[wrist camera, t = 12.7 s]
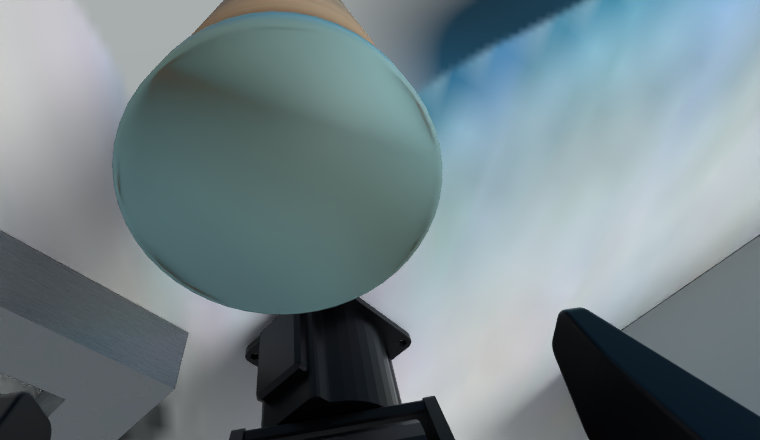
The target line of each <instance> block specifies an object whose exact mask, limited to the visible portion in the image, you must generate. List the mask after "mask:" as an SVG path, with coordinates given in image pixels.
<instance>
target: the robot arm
mask: <svg viewBox="0 0 760 440" xmlns="http://www.w3.org/2000/svg"><path fill="white" fill-rule="evenodd" d="M400 340H403V341H400ZM410 344H411V339H410V335H409V334H408V332H406V331H405V330H403V329H402V328H401V327H399V326H398V325H397V324H395V323H394V322H392V321H391V320H390V319H388V318H387V317H386V316H384V315H383V314H381V313H380V312H379V311H377V310H376V309H375V308H373V307H372V306H370V305H369V304H368V303H366V302H365V301H364V300H362V299H361V298H359V297H357V298H355V299H353V300H351V301H348V302H345V303H343V304H340V305H337V306H334V307H330V308H327V309H323V310H319V311H313V312H306V313H299V314H281V315H280V316H279V317H278V318H277V319H275V320H274V321H273V322H272V323H271V324H270V325H269V326H267V327H266V328H265V329H264V330H263V331H262V332H261V333H260V336H259V337H258V338H257V339H256V340H255V341H254V342H252V343H251V344H250V345H249V346H248V347H247V348H246V356H245V357H246V360H247V361H249V362H250V363H252V364H254V365H256V366H258V376H257V391H256V395H257V400H258V401H260V402H262V403H263V404H262V423H261V428H258V429H252V430H246V429H245V428H244V429H238V430H232V431H231V434H230V438H229V440H455V438H454V436H453V434H452V432H451V430H450V428H449V425H448V423H447V421H446V419H445V417H444V415H443V412H442V410H441V408H440V406H439V404H438V402H437V399H436V397H435V396H431V397H425V398H422V400H421V401H415V402H409V403H403V404H402V403H401V399H400V394H399V390H398V386H397V382H396V378H395V374H394V370H393V366H392V361H391V360H392V359H394V358H395V357H396V356H397V355H399V354H400V353H401V352H403V351H404V350H405V349H406V348H408V347H409V346H410ZM552 347H553V352H554V355H555V358H556V360H557V363H558V365H559V368H560V370H561V373H562V375H563V378H564V381H565V383H566V386H567V388H568V391H569V393H570V396H571V398H572V401H573V403H574V406H575V408H576V411H577V413H578V416H579V418H580V421H581V423H582V425H583V428H584V430H585V432H586V434H587V436H588V438H589V440H760V416H759V415H757V414H756V413H754V412H752V411H751V410H749V409H748V408H746V407H744V406H743V405H741V404H739V403H738V402H736V401H735V400H733V399H731V398H730V397H728V396H727V395H725V394H723V393H722V392H720V391H718V390H717V389H715V388H714V387H712V386H710V385H709V384H707V383H705V382H704V381H702V380H701V379H699V378H697V377H696V376H694V375H692V374H691V373H689V372H688V371H686V370H684V369H683V368H681V367H679V366H678V365H676V364H675V363H673V362H671V361H670V360H668V359H666V358H665V357H663V356H662V355H660V354H658V353H657V352H655V351H653V350H652V349H650V348H649V347H647V346H645V345H644V344H642V343H641V342H639V341H637V340H636V339H634V338H632V337H631V336H629V335H628V334H626V333H624V332H623V331H621V330H619V329H618V328H616V327H615V326H613V325H611V324H610V323H608V322H606V321H605V320H603V319H602V318H600V317H598V316H597V315H595V314H593V313H592V312H590V311H589V310H587V309H585V308H572V309H566V310H562V311H561V312H560V313H559V315H558V318H557V322H556V327H555V331H554V336H553V340H552ZM253 353H258V354H253ZM51 431H52V429H51V424H50V421H49V419H48V417H47V416H46V414H45V413H44V411H43V410H42V409H41V407H40V406H39V404H38V403H37V401H36V400H35V398H34V397H33V396H32V394H30V393H28V392H16V393H10V394H3V395H0V440H50V439H51Z"/></svg>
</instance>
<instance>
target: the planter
mask: <svg viewBox="0 0 760 440" xmlns="http://www.w3.org/2000/svg"><path fill="white" fill-rule="evenodd" d="M622 331H623V332H624V333H626V334H628V335H629V336H631V337H632V338H634V339H636V340H637V341H639V342H641V343H642V344H644V345H645V346H647V347H649V348H650V349H652V350H653V351H655V352H657V353H658V354H660V355H662V356H663V357H665V358H666V359H668V360H670V361H671V362H673V363H675V364H676V365H678V366H679V367H681V368H683V369H684V370H686V371H688V372H689V373H691V374H692V375H694V376H696V377H697V378H699V379H701V380H702V381H704V382H705V383H707V384H709V385H710V386H712V387H714V388H715V389H717V390H718V391H720V392H722V393H723V394H725V395H727V396H728V397H730V398H731V399H733V400H735V401H736V402H738V403H739V404H741V405H743V406H744V407H746V408H748V409H749V410H751V411H752V412H754V413H756V414H757V415H759V416H760V236H758V237H757V238H755V239H754V240H752V241H751V242H749V243H748V244H747V245H745V246H744V247H742V248H741V249H739V250H738V251H736V252H735V253H733V254H732V255H731V256H729V257H728V258H726V259H725V260H723V261H722V262H720V263H719V264H718V265H716V266H715V267H713V268H712V269H710V270H709V271H707V272H706V273H704V274H703V275H702V276H700V277H699V278H697V279H696V280H694V281H693V282H691V283H690V284H688V285H687V286H686V287H684V288H683V289H681V290H680V291H678V292H677V293H675V294H674V295H673V296H671V297H670V298H668V299H667V300H665V301H664V302H662V303H661V304H659V305H658V306H657V307H655V308H654V309H652V310H651V311H649V312H648V313H646V314H645V315H643V316H642V317H641V318H639V319H638V320H636V321H635V322H633V323H632V324H630V325H629V326H628V327H626V328H625V329H623V330H622Z"/></svg>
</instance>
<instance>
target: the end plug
mask: <svg viewBox="0 0 760 440" xmlns="http://www.w3.org/2000/svg"><path fill="white" fill-rule="evenodd" d="M112 167H113V180H114V188H115V192H116V196H117V201H118V205H119V207H120V210H121V212H122V215H123V217H124V220H125V222H126V224H127V226H128V228H129V230H130V231H131V233H132V235H133V237H134V238H135V240H136V242H137V243H138V244H139V245H140V247H141V248H142V249H143V251H144V252H145V253H146V255H147V256H148V257H149V258H150V259H151V260H152V261H153V262H154V263H155V264H156V265H157V266H158V267H159V268H160V269H161V270H162V271H163V272H165V273H166V274H167V275H168V276H170V277H171V278H172V279H173V280H175V281H176V282H177V283H179V284H181V285H182V286H184V287H185V288H187V289H189V290H190V291H192V292H194V293H196V294H198V295H200V296H202V297H204V298H206V299H208V300H210V301H213V302H216V303H219V304H222V305H224V306H227V307H231V308H235V309H239V310H243V311H249V312H256V313H263V314H299V313H306V312H313V311H319V310H323V309H327V308H330V307H334V306H337V305H340V304H343V303H345V302H348V301H351V300H353V299H355V298H357V297H359V296H361V295H363V294H365V293H367V292H369V291H371V290H372V289H374V288H375V287H377V286H378V285H380V284H382V283H383V282H384V281H386V280H387V279H388V278H389V277H391V276H392V275H393V274H394V273H396V272H397V271H398V270H399V269H400V268H401V267H402V266H403V265H404V264H405V263H406V262H407V261H408V260H409V258H410V257H411V256H412V254H413V253H414V252H415V251H416V249H417V248H418V247H419V245H420V244H421V242H422V240H423V238H424V237H425V235H426V233H427V232H428V230H429V227H430V225H431V223H432V220H433V218H434V216H435V213H436V209H437V206H438V202H439V198H440V192H441V185H442V159H441V152H440V144H439V141H438V138H437V134H436V131H435V127H434V125H433V122H432V120H431V118H430V116H429V113H428V111H427V109H426V107H425V105H424V104H423V102H422V101H421V99H420V98H419V96H418V94H417V93H416V91H415V90H414V89H413V87H412V86H411V85H410V84H409V83H408V81H407V80H406V79H405V78H404V76H403V75H402V74H401V73H400V71H399V70H398V69H397V68H396V67H395V65H394V64H393V63H392V62H391V61H390V60H389V58H388V57H386V56H385V55H384V54H383V53H382V52H381V51H380V50H379V49H378V48H377V47H376V46H375V44H374V43H373V42H372V40H371V39H370V38H369V37H368V35H367V34H366V33H365V31H364V30H363V29H362V28H361V26H360V25H359V24H358V22H357V21H356V20H355V19H354V17H353V16H352V14H351V13H350V12H349V11H348V9H347V8H346V7H345V5H344V4H343V3H342V2H341V0H224V1H223V2H222V3H221V4H220V5H219V6H218V7H217V8H216V10H214V12H213V13H212V14H211V15H210V16H209V17H208V18H207V19H206V20H205V21H204V22H203V24H201V26H200V27H199V28H198V29H197V30H196V31H195V32H194V33H193V34H192V35H191V36H190V37H188V38H187V39H186V40H185V41H183V42H182V43H181V44H180V45H178V46H177V47H176V48H175V49H173V50H172V51H171V52H170V53H169V54H168V55H167V56H166V57H165V58H164V59H163V60H162V61H161V63H160V64H159V65H158V66H157V67H156V68H155V69H154V70H153V71H152V72H151V73H150V74H149V75H148V77H147V78H146V79H145V80H144V81H143V82H142V83H141V84H140V86H139V87H138V89H137V90H136V92H135V93H134V95H133V96H132V98H131V100H130V101H129V103H128V105H127V107H126V109H125V111H124V114H123V116H122V118H121V121H120V123H119V127H118V130H117V134H116V138H115V142H114V151H113V163H112Z"/></svg>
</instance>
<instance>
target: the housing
mask: <svg viewBox="0 0 760 440" xmlns="http://www.w3.org/2000/svg"><path fill="white" fill-rule="evenodd" d="M187 337H188V332H186V331H184V330H182V329H180V328H178V327H177V326H175V325H173V324H171V323H169V322H167V321H166V320H164V319H162V318H160V317H158V316H156V315H155V314H153V313H151V312H149V311H147V310H145V309H143V308H142V307H140V306H138V305H136V304H134V303H132V302H131V301H129V300H127V299H125V298H123V297H121V296H120V295H118V294H116V293H114V292H112V291H110V290H109V289H107V288H105V287H103V286H101V285H99V284H98V283H96V282H94V281H92V280H90V279H88V278H87V277H85V276H83V275H81V274H79V273H77V272H75V271H74V270H72V269H70V268H68V267H66V266H64V265H63V264H61V263H59V262H57V261H55V260H53V259H52V258H50V257H48V256H46V255H44V254H42V253H41V252H39V251H37V250H35V249H33V248H31V247H30V246H28V245H26V244H24V243H22V242H20V241H18V240H17V239H15V238H13V237H11V236H9V235H7V234H6V233H4V232H2V231H0V373H3V374H5V375H8V376H10V377H13V378H15V379H18V380H20V381H22V382H25V383H27V384H30V385H32V386H35V387H37V388H40V389H42V390H44V391H43V392H42V393H41V394H40V395H39V396H38V397H37V398H36V399H35V400H36V401H37V403H38V404H39V406H40V407H41V409H42V410H43V411H44V413H45V414H46V416H47V417H48V419H49V421H50V424H51V429H52V431H51V439H50V440H118V439H119V438H120V437H121V436H122V435H124V434H125V433H126V432H127V431H128V430H129V429H130V428H131V427H133V426H134V425H135V424H136V423H137V422H138V421H139V420H140V419H142V418H143V417H144V416H145V415H146V414H147V413H148V412H149V411H151V410H152V409H153V408H154V407H155V406H156V405H157V404H158V403H159V402H161V401H162V400H163V399H164V398H165V397H166V396H167V395H168V394H170V393H171V392H172V391H173V390H174V389H175V386H176V382H177V378H178V374H179V369H180V365H181V361H182V357H183V353H184V349H185V345H186V341H187Z"/></svg>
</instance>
